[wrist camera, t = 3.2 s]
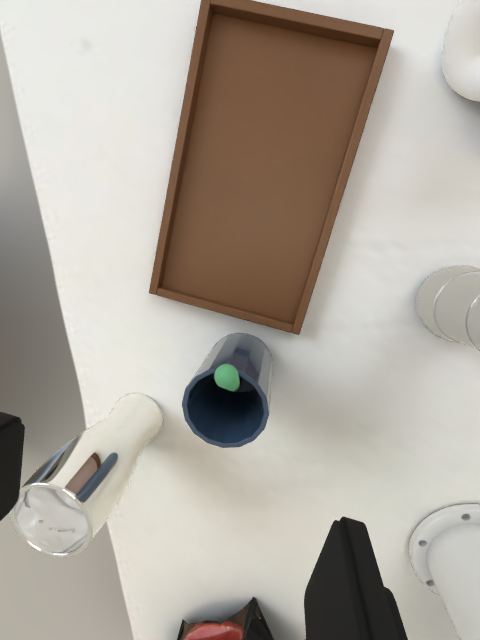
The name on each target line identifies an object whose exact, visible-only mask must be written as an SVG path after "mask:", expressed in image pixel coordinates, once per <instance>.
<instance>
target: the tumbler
mask: <svg viewBox="0 0 480 640" xmlns="http://www.w3.org/2000/svg"><path fill="white" fill-rule="evenodd" d="M223 364H230V365H232V366H234V367H235V368H236V369H237V371H238V375H239V381H240V389H239V390H238V391H237V392H233V391H230V390H227V389H224V388H221V387H220V386H218V385H217V383H216V382H215V379H214V374H215V371H216V369H217V368H218V367H219V366H221V365H223ZM272 375H273V360H272V356H271V353H270V351H269V349H268V348H267V346H266V345H265V344H264V343H263V342H262V341H261V340H260V339H258V338H257V337H255V336H253V335H250V334H245V333H234V334H230V335H228V336H225V337H224V338H222V339H221V340H220V341H218V342H217V344H216V345H215V346H214V348H213V349H212V350H211V352H210V353H209V355H208V356H207V358H206V359H205V361H204V362H203V363H202V365H201V366H200V368H199V369H198V371H197V372H196V374H195V375H194V377H193V378H192V380H191V381H190V383H189V384H188V386H187V387H186V389H185V392H184V397H183V401H182V407H183V412H184V417H185V420H186V422H187V423H188V425H189V426H190V428H191V429H192V431H193V433H194V434H196V435H197V436H199V437H200V438H201V439H203V440H204V441H205V442H207V443H209V444H212V445H216V446H219V447H222V448H229V447H241V446H243V445H245V444H247V443H249V442H252V441H254V440H255V439H256V438H257V437H258V435H259V434H260V433H261V432H262V431H263V430H264V429H265V426H266V423H267V419H268V416H269V409H270V398H271V386H272Z"/></svg>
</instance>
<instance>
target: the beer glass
mask: <svg viewBox="0 0 480 640" xmlns="http://www.w3.org/2000/svg"><path fill="white" fill-rule="evenodd" d="M162 424H163V415H162V412H161V410H160V408H159V406H158V405H157V403H156V402H155V401H154V400H152V399H151V398H150V397H148V396H146V395H143V394H139V393H131V394H127V395H125V396H123V397H121V398H120V399H119V400H118V401H117V402H116V404H115V405H114V407H113V408H112V410H111V412H110V413H109V415H108V416H107V417H105V418H104V419H103V420H101V421H100V422H98V423H97V424H95V425H93V426H92V427H90V428H88V429H87V430H85V431H83V432H82V433H81V434H79V435H77V436H76V437H74V438H73V439H71V440H70V441H68V442H67V443H66V444H65V445H63V446H62V447H61V448H60V449H59V450H58V451H56V452H55V453H54V454H53V455H52V456H51V457H50V458H49V459H48V460H47V461H46V462H45V463H44V464H43V465H42V466H41V467H40V468H39V469H38V470H37V471H36V472H35V473H34V474H33V475H32V477H31V478H30V479H29V480H28V481H27V482H26V483H25V484H24V486H22V487H21V488H20V492H19V498H18V501H17V503H16V504H15V506H14V507H13V509H12V510H11V511H10V518H11V522H12V524H13V527H14V529H15V531H16V532H17V533H18V535H19V536H20V538H21V539H22V540H23V541H24V542H25V543H26V544H27V545H29V546H30V547H31V548H33V549H34V550H36V551H38V552H40V553H42V554H44V555H47V556H51V557H56V558H67V557H71V556H75V555H77V554H79V553H80V552H82V551H83V550H84V549H85V548H86V547H87V546H88V545H89V543H90V541H91V540H92V539H93V537H94V536H95V535H96V533H97V532H98V531H99V529H100V528H101V527H102V525H103V524H104V523H105V522H106V520H107V519H108V518H109V516H110V515H111V513H112V512H113V510H114V509H115V507H116V506H117V505H118V503H119V501H120V500H121V498H122V496H123V495H124V493H125V491H126V489H127V487H128V485H129V483H130V481H131V479H132V476H133V474H134V471H135V469H136V466H137V463H138V461H139V458H140V456H141V453H142V451H143V449H144V447H145V446H146V445H147V443H148V442H149V441H150V440H152V439H153V438H154V437H155V436H156V435H157V434H158V433H159V432H160V430H161V428H162Z"/></svg>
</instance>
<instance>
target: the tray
mask: <svg viewBox="0 0 480 640" xmlns="http://www.w3.org/2000/svg"><path fill="white" fill-rule="evenodd" d="M393 33H394V30H390V29H384V28H380V27H376V26H371V25H366V24H361V23H357V22H352V21H347V20H342V19H338V18H333V17H328V16H323V15H318V14H314V13H309V12H304V11H299V10H295V9H290V8H285V7H280V6H276V5H271V4H266V3H261V2H256V1H252V0H201V5H200V10H199V16H198V22H197V27H196V33H195V38H194V44H193V50H192V55H191V61H190V66H189V72H188V77H187V83H186V89H185V94H184V100H183V105H182V111H181V117H180V122H179V128H178V133H177V139H176V144H175V150H174V156H173V161H172V167H171V172H170V178H169V184H168V189H167V195H166V200H165V206H164V212H163V217H162V223H161V228H160V234H159V239H158V245H157V251H156V256H155V262H154V267H153V273H152V279H151V284H150V290H149V293H151V294H154V295H158V296H161V297H165V298H169V299H172V300H176V301H179V302H183V303H187V304H190V305H194V306H197V307H201V308H205V309H208V310H212V311H215V312H219V313H223V314H226V315H230V316H233V317H237V318H240V319H244V320H248V321H251V322H255V323H258V324H262V325H266V326H269V327H273V328H276V329H280V330H284V331H287V332H292V333H294V334H298V335H299V334H300V330H301V327H302V324H303V321H304V318H305V314H306V311H307V308H308V305H309V302H310V298H311V295H312V292H313V289H314V286H315V282H316V279H317V276H318V273H319V270H320V266H321V263H322V260H323V257H324V254H325V250H326V247H327V244H328V241H329V238H330V234H331V231H332V228H333V225H334V222H335V218H336V215H337V212H338V209H339V206H340V203H341V199H342V196H343V193H344V190H345V187H346V183H347V180H348V177H349V174H350V171H351V167H352V164H353V161H354V158H355V155H356V151H357V148H358V145H359V142H360V139H361V135H362V132H363V129H364V126H365V123H366V119H367V116H368V113H369V110H370V107H371V103H372V100H373V97H374V94H375V91H376V88H377V84H378V81H379V78H380V75H381V72H382V68H383V65H384V62H385V59H386V56H387V52H388V49H389V46H390V43H391V40H392V36H393Z"/></svg>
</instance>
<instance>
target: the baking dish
mask: <svg viewBox="0 0 480 640" xmlns="http://www.w3.org/2000/svg"><path fill="white" fill-rule="evenodd" d="M177 640H274V638H273V636H272V634H271V631H270V629H269V627H268V625H267V623H266V620H265V618H264V616H263V614H262V612H261V610H260V608H259V605H258V603H257V601H256V599H255V598H254V597H253V599H252V600H251V601H250V602H249V603H248V604H247V605H246V606H245V607H244V609H243V610H241V611H240V612H238V613H237V614H235V615H234V616H232V617H231V618H229V619H228V620H226V621H225V622H223V623H222V624H220V623H218V622H215V621H205V622H202V623H194V624H188V623H187V622H186V621H184V620H182V624H181V627H180V631H179V635H178V639H177Z"/></svg>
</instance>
